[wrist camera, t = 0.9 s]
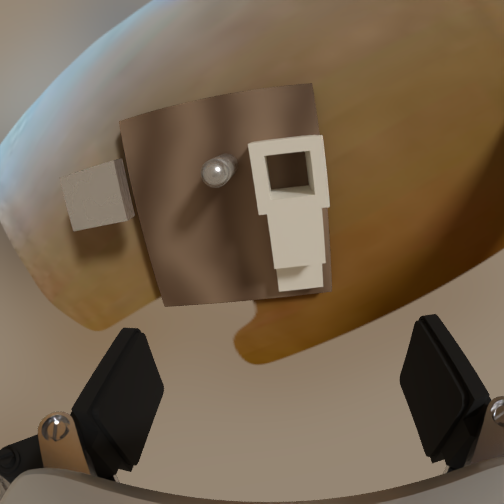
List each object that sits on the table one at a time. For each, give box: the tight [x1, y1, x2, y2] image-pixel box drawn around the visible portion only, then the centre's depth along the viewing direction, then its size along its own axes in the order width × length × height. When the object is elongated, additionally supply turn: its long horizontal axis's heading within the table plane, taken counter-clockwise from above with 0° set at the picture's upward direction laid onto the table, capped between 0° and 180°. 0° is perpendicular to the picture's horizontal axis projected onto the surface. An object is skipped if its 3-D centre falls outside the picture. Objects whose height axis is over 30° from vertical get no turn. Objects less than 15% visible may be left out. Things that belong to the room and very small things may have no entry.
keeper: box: [60, 158, 135, 232], centre depth 25 cm, size 6×5×6 cm
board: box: [119, 83, 332, 307], centre depth 27 cm, size 17×19×2 cm
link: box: [248, 135, 330, 292], centre depth 24 cm, size 13×5×4 cm, turn 8°
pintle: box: [201, 153, 238, 188], centre depth 22 cm, size 2×2×6 cm
